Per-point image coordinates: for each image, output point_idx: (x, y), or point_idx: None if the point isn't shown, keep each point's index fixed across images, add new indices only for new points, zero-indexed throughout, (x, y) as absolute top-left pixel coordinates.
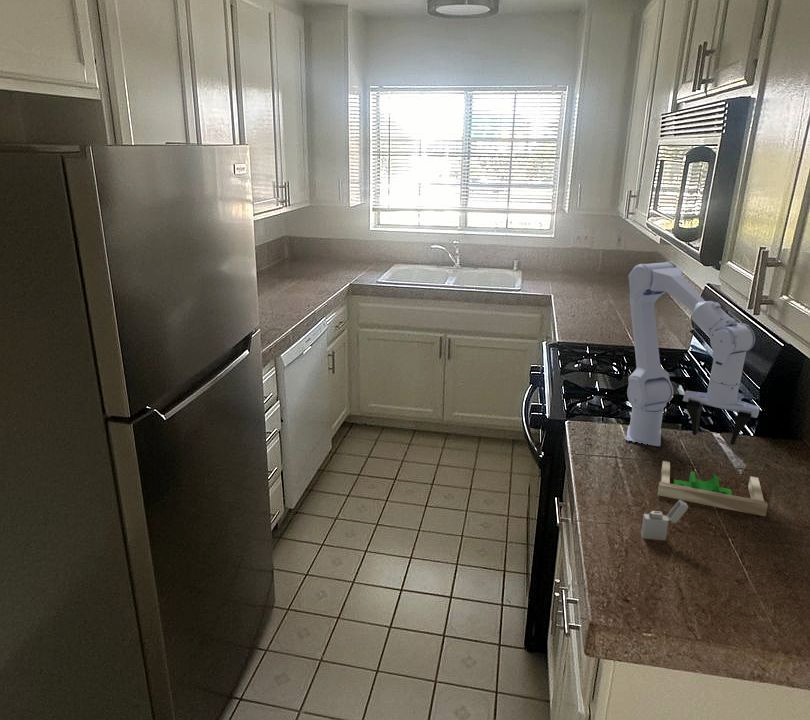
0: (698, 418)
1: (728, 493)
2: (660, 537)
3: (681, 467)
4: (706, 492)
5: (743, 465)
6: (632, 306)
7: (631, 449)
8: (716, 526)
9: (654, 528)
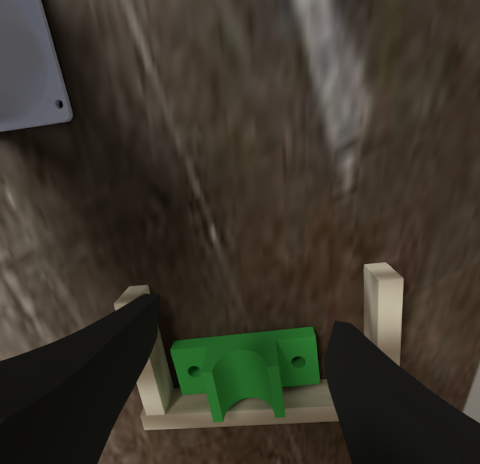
0: (109, 391)
1: (308, 359)
2: None
3: (174, 237)
4: (255, 418)
5: (363, 112)
6: None
7: (7, 189)
8: (284, 458)
9: None
